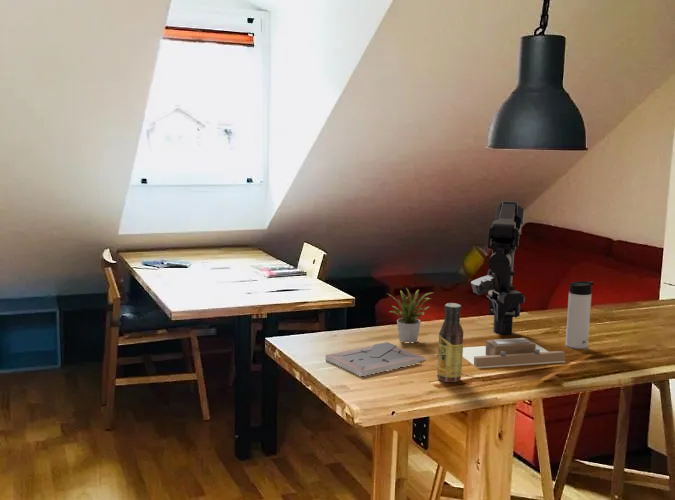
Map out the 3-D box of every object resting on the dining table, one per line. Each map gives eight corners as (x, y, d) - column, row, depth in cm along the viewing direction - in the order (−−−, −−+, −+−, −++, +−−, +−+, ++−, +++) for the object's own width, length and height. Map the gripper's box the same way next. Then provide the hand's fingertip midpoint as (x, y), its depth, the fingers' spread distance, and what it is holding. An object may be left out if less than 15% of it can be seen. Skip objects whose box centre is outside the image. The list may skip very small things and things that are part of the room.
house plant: (445, 341, 232) (448, 288, 230) (417, 351, 222) (419, 295, 220) (408, 332, 242) (409, 280, 239) (379, 341, 232) (380, 287, 229)
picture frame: (387, 350, 226) (325, 362, 214) (387, 341, 226) (325, 354, 213) (424, 365, 213) (361, 379, 200) (425, 356, 212) (361, 370, 200)
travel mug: (589, 352, 224) (594, 284, 220) (566, 350, 225) (570, 283, 222) (587, 346, 230) (592, 279, 226) (564, 344, 231) (568, 278, 228)
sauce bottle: (434, 375, 202) (437, 301, 199) (458, 375, 203) (461, 301, 199) (439, 384, 196) (442, 307, 192) (464, 384, 196) (467, 307, 193)
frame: (485, 354, 218) (486, 339, 217) (524, 352, 221) (525, 336, 220) (494, 361, 212) (495, 345, 211) (534, 358, 215) (535, 342, 214)
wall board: (451, 350, 224) (452, 336, 223) (534, 345, 230) (535, 331, 229) (477, 370, 206) (478, 355, 206) (566, 364, 212) (567, 349, 212)
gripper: (462, 262, 227) (460, 314, 230) (489, 275, 209) (486, 331, 212) (497, 260, 230) (494, 312, 232) (527, 273, 212) (524, 329, 215)
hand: (499, 320), depth 223 cm, fingers closed
